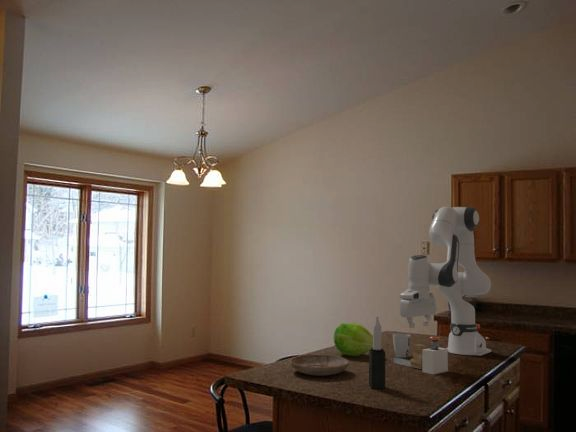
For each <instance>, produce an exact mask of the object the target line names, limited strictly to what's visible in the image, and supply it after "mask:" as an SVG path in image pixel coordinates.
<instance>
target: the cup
mask: <svg viewBox="0 0 576 432" xmlns="http://www.w3.org/2000/svg"><path fill="white" fill-rule="evenodd" d="M392 343H393V344H392V345H393V350H394V353H395V358H400V359H405V358H408V356H409V353H410V349H411V348H410V345H411V334H409V333H393V334H392Z"/></svg>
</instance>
